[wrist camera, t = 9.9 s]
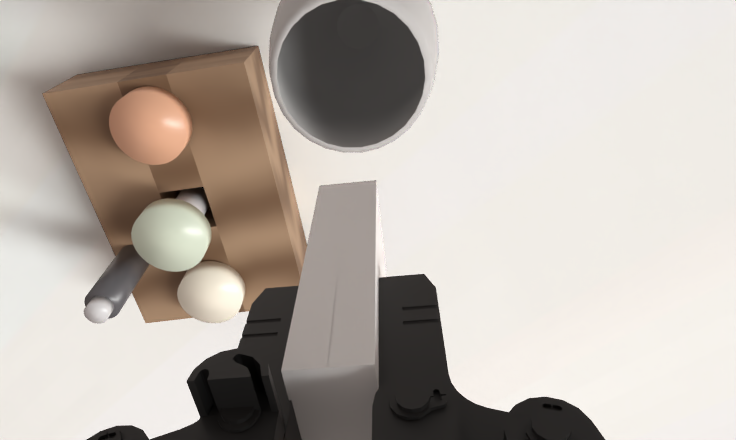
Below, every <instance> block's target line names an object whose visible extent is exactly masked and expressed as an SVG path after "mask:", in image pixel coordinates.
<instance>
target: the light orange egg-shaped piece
mask: <svg viewBox="0 0 736 440" xmlns="http://www.w3.org/2000/svg"><path fill="white" fill-rule="evenodd" d="M109 127H110V132H111V135H112V137H113V139H114V141H115V143H116V144H117V145H118V147H119V148H120V149H121V150H122V151H123V152H124V153H125V154H126V155H128V156H129V157H131V158H132V159H134V160H136V161H138V162H141V163H144V164H149V165H161V164H165V163H168V162H170V161H172V160H174V159H175V158H176V157H177V156H178V155H179V154H180V153H181V152H182V151H183V149H184V148H185V147H186V146H187V144H188V143H189V141H190V139H191V135H192V120H191V117H190V114H189V112H188V110H187V108H186V107H185V105H184V104H183V103H182V102H181V101H180V100H179V99H178V98H177V97H176V96H175V95H173V94H172V93H170V92H168V91H166V90H164V89H161V88H158V87H152V86H145V87H139V88H136V89H134V90H132V91H130V92H129V93H128V94H126V95H125V96H123V97H122V98H121V99H119V100H118V101H117V102H116V103H115V105H114V106H113V108H112V110H111V112H110V116H109Z"/></svg>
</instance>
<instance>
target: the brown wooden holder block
mask: <svg viewBox="0 0 736 440" xmlns="http://www.w3.org/2000/svg"><path fill="white" fill-rule="evenodd" d="M145 86H152V87H158V88H161V89H164V90H166V91H168V92H170V93H172V94H173V95H175V96H176V97H177V98H178V99H179V100H180V101H181V102H182V103H183V104H184V105H185V107H186V108H187V110H188V112H189V114H190V117H191V120H192V135H191V139H190V141H189V143H188V144H187V146H186V147H185V148H184V149H183V151H182V152H181V153H180V154H179V155H178V156H177V157H176V158H175V159H174V160H172V161H170V162H168V163H165V164H161V165H149V164H144V163H141V162H138V161H136V160H134V159H132V158H131V157H129V156H128V155H126V154H125V153H124V152H123V151H122V150H121V149H120V148H119V147H118V145H117V144H116V143H115V141H114V139H113V137H112V135H111V132H110V127H109V116H110V112H111V110H112V108H113V106H114V105H115V103H116V102H117V101H118V100H119V99H121V98H122V97H123V96H125V95H126V94H128V93H129V92H130V91H132V90H134V89H136V88H139V87H145ZM43 97H44V99H45V101H46V103H47V105H48V108H49V110H50V112H51V114H52V117H53V119H54V121H55V123H56V125H57V128H58V130H59V132H60V134H61V136H62V139H63V141H64V143H65V145H66V148H67V150H68V152H69V154H70V156H71V159H72V161H73V163H74V165H75V167H76V170H77V172H78V174H79V176H80V179H81V181H82V183H83V185H84V187H85V190H86V192H87V194H88V196H89V199H90V201H91V203H92V205H93V207H94V210H95V212H96V214H97V216H98V218H99V221H100V223H101V225H102V227H103V230H104V232H105V234H106V236H107V238H108V241H109V243H110V245H111V247H112V249H113V252H114V254H115V256H117V255H118V253H119V252H120V251H121V249H122V248H123V247H124V246H127V245H133V242H132V238H131V232H132V227H133V225H134V222H135V221H136V220H137V218H138V217H139V216H140V214H141V213H142V212H143V211H144V209H145V208H146V207H147V206H148V205H149V204H151V203H153V202H154V201H157V200H160V199H167V198H172V199H176V198H177V196H178V195H179V193H180V192H181V191H182V190H183V189H190V188H197V187H204V190H205V193H206V196H207V199H208V202H209V205H210V206H209V208H208V210H207V211H206V213H205V217H206V218H207V220H208V222H209V224H210V227H211V233H212V236H211V242H210V244H209V246H208V248H207V251H206V253H205V255H204V257H203V258H202V260H201V261H200V262H204V261H215V262H220V263H223V264H226V265H230V267H232V268H233V269H234V270H236V271H237V272H238V273H239V275H240V276H241V277H242V279H243V281H244V284H245V296H244V299H243V302H242V305H241V308H240V310H239V312H245V311H250V308H251V305H252V303H253V302H254V301H255V300H256V299H257V297H258V296H259V295H260V294H261V293H262V292H263V291H264V290H265V288H275V287H288V286H299V282H300V278H301V273H302V268H303V263H304V258H305V253H306V249H307V243H306V239H305V235H304V231H303V227H302V223H301V219H300V215H299V210H298V206H297V202H296V198H295V194H294V190H293V186H292V182H291V178H290V174H289V170H288V166H287V161H286V157H285V153H284V149H283V145H282V141H281V137H280V133H279V129H278V125H277V121H276V117H275V112H274V108H273V104H272V100H271V96H270V92H269V88H268V84H267V80H266V76H265V72H264V68H263V64H262V59H261V55H260V51H259V47H258V46H254V47H248V48H242V49H236V50H229V51H223V52H217V53H210V54H204V55H198V56H191V57H185V58H179V59H173V60H166V61H160V62H154V63H147V64H141V65H135V66H128V67H122V68H116V69H110V70H103V71H97V72H91V73H84V74H78V75H76V76H74V77H72V78H70V79H68V80H67V81H65V82H63V83H61V84H59V85H57V86H56V87H54V88H52V89H50V90H48V91H46V92H45V93H43ZM200 262H199V263H200ZM186 272H187V270H185V271H178V272H172V271H165V270H162V269H159V268H156V267H154V266H152V265H151V264H149V266H148V268H147V269H146V271H145V272H144V274H143V276H142V277H141V279H140V280H139V282H138V283H137V285H136V286H135V288H134V290H133V291H132V294H133V296H134V298H135V300H136V303H137V305H138V307H139V309H140V311H141V314H142V316H143V318H144V320H145V323H151V322H160V321H168V320H177V319H185V318H193V317H192V316H190V315H189V314H188V313H186V312H185V311H184V309H183V308H182V307H181V305H180V303H179V301H178V296H177V291H178V287H179V285H180V283H181V281H182V279H183V277H184V275H185V273H186Z"/></svg>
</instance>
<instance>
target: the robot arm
mask: <svg viewBox="0 0 736 440" xmlns="http://www.w3.org/2000/svg"><path fill="white" fill-rule="evenodd" d="M187 384H188V386H189V389H190V391H191V394H192V397H193V399H194V402H195V404H196V407H197V409H198V412H199V415H200V419H199V420H198V421H197V422H195V423H194V424H192V425H189V426H187V427H185V428H182V429H180V430H177V431H174V432H171V433H168V434H165V435H162V436H159V437H156V438H153V439H150V440H605V439H604V437H603V436H602V435H601V433H600V432H599V430H598V429H597V428H596V426H595V425H594V424H593V422H592V421H591V420H590V419H589V418H588V417H587V416H586V415H585V414H584V413H583V412H582V411H581V410H580V409H579V408H577V407H575V406H573V405H571V404H569V403H567V402H565V401H563V400H559V399H554V398H549V397H538V398H529V399H527V400H525V401H522V402H520V403H518V404H516V405H515V406H514V407H513V408H512V410H511V411H510V412H504V411H500V410H495V409H490V408H486V407H483V406H480V405H477V404H475V403H473V402H471V401H469V400H467V399H466V398H464V397H463V396H462V395H461V394H460V393H459V392H458V391H457V390H456V389H455V387H454V386H453V384H452V383H451V380H450V377H449V374H448V367H447V361H446V354H445V347H444V340H443V334H442V327H441V321H440V313H439V307H438V300H437V293H436V287H435V286H434V285H433V284H432V283H431V282H430V280H429V279H428V278H427V277H426V276H425V274H418V275H405V276H393V277H386V260H385V252H384V243H383V234H382V226H381V217H380V209H379V200H378V191H377V183H376V180H375V181H364V182H353V183H343V184H332V185H321V186H319V191H318V196H317V201H316V205H315V210H314V215H313V220H312V225H311V229H310V234H309V239H308V244H307V249H306V253H305V258H304V263H303V268H302V273H301V278H300V282H299V286H288V287H275V288H265V290H264V291H263V292H262V293H261V294H260V295H259V296H258V297H257V299H256V300H255V301H254V302H253V303H252V305H251V308H250V311H249V315H248V318H247V324H245V327H244V330H243V334H242V338H241V340H240V343H239V346H238V349H232V350H228V351H223V352H220V353H218V354H216V355H214V356H212V357H209V358H207V359H206V360H205V361H203V362H202V363H201V364H200V365H199V366H197V367H196V368H195V369H194V370H193V372H192V373H191V375H190V377H189V378H188V380H187ZM87 440H149V439H148V437H147V436H146V434H145V433H144V431H143V430H141V429H139V428H137V427H134V426H132V425H130V426H115V427H112V428H109V429H106V430H103V431H100V432H99V433H97V434H95V435H94V436H92V437H90V438H89V439H87Z"/></svg>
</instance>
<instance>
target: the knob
mask: <svg viewBox="0 0 736 440" xmlns="http://www.w3.org/2000/svg"><path fill="white" fill-rule="evenodd" d="M177 296H178V301H179V303H180V305H181V307H182V308H183V309H184V311H185V312H186V313H188V314H189V315H190V316H192V317H193V318H195V319H197V320H200V321H203V322H207V323H221V322H225V321H228V320H230V319H231V318H233V317H234V316H235V315H236V314H237V313H238V312H239V310H240V308H241V305H242V302H243V299H244V296H245V284H244V281H243V279H242V277H241V276H240V275H239V273H238V272H237V271H236V270H234V269H233V268H232V267H230V265H226V264H223V263H220V262H215V261H204V262H200V263H198V264H197V265H196V266H194V267H193V268H191V269H188V270H187V272H186V273H185V275H184V277H183V279H182V281H181V283H180V285H179V287H178V291H177Z"/></svg>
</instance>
